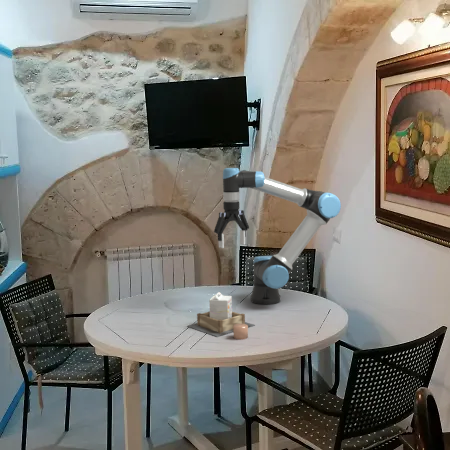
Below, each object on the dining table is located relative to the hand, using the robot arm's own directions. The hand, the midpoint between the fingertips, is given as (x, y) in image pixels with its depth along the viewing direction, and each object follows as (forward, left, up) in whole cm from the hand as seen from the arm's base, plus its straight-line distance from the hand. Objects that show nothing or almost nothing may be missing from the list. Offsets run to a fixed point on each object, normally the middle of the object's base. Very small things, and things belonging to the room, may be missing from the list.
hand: (232, 245), depth 286 cm
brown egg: (+24, +31, -32) cm, 50 cm away
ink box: (+20, +14, -31) cm, 39 cm away
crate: (+20, +14, -32) cm, 40 cm away
